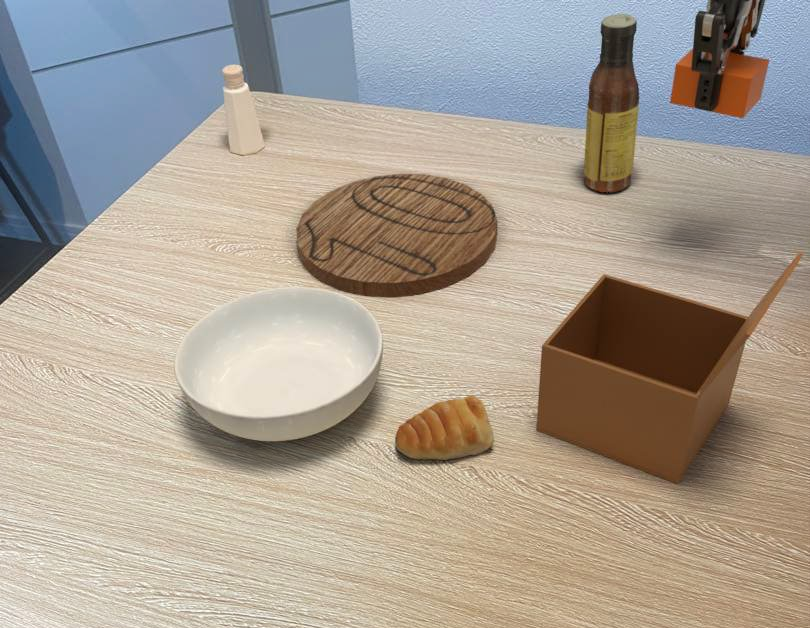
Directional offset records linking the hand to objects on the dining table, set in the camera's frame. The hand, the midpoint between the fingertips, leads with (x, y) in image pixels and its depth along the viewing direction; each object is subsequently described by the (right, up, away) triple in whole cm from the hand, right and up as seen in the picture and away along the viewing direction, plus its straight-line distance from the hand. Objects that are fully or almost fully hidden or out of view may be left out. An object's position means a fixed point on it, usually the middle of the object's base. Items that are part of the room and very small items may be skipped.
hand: (715, 97), depth 96 cm
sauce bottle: (-6, 0, +24) cm, 25 cm away
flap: (-4, -28, -20) cm, 35 cm away
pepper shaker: (-56, +10, +37) cm, 67 cm away
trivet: (-34, -9, +18) cm, 40 cm away
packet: (0, 0, 0) cm, 0 cm away
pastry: (-28, -37, -6) cm, 47 cm away
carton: (-10, -35, -5) cm, 36 cm away
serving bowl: (-45, -32, 0) cm, 55 cm away
